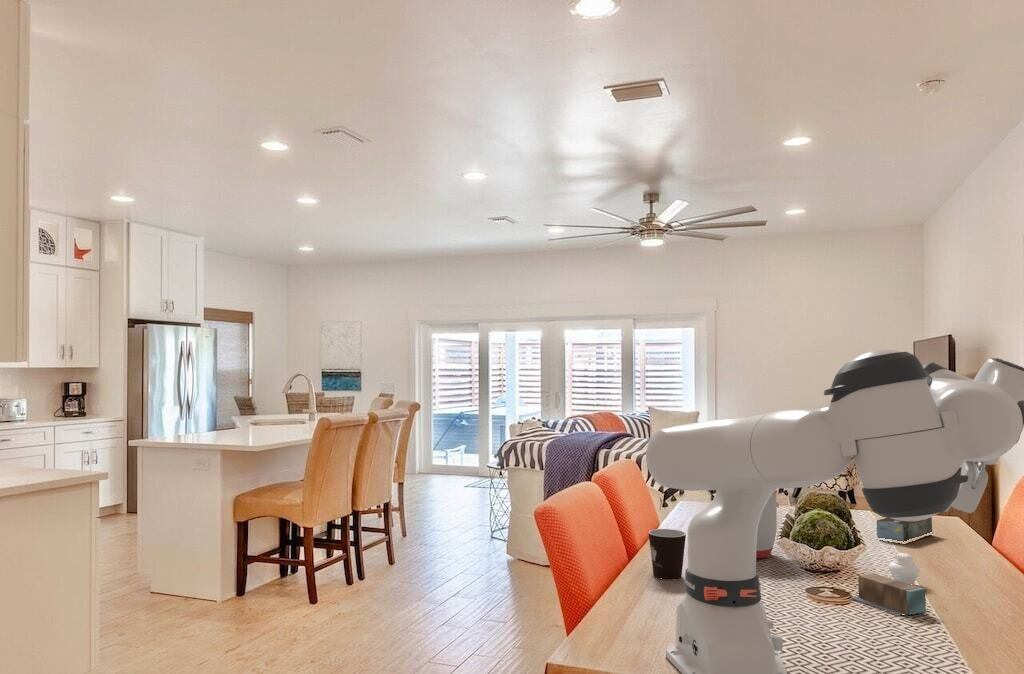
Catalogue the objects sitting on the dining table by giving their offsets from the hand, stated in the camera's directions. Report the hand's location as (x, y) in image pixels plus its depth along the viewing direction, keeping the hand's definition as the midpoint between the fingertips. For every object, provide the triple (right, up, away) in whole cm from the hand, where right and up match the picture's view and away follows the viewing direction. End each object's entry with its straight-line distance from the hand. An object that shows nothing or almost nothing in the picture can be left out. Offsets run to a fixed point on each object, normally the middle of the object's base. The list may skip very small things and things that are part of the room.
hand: (941, 507), depth 136 cm
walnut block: (0, -20, +8) cm, 22 cm away
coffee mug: (-43, -24, +36) cm, 61 cm away
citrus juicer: (-18, -25, +55) cm, 63 cm away
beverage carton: (+33, -27, +74) cm, 85 cm away
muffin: (+8, -24, +28) cm, 38 cm away
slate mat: (-3, -23, +14) cm, 27 cm away
